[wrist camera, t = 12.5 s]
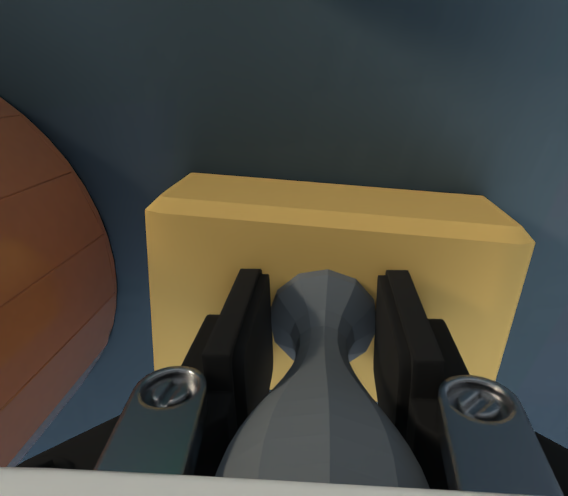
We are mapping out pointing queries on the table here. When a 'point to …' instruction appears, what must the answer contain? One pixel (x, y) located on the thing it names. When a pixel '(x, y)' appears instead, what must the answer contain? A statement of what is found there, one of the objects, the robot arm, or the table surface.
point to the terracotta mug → (46, 284)
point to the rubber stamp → (329, 305)
